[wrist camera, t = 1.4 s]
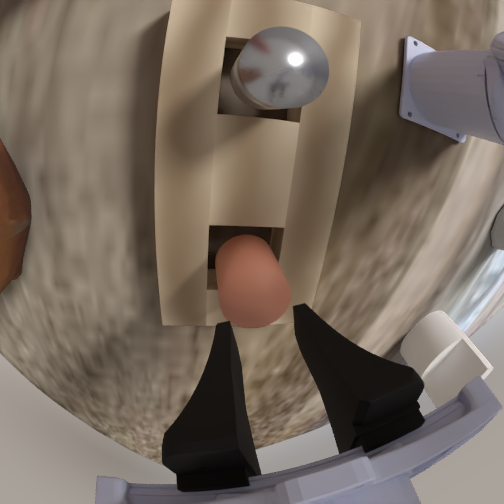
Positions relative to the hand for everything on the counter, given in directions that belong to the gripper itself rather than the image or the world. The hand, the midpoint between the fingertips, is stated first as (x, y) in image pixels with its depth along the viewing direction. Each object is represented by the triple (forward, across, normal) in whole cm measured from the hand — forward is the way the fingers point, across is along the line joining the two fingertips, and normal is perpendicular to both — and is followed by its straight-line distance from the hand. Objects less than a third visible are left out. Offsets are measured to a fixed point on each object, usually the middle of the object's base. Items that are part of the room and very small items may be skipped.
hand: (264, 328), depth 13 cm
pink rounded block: (+7, 0, 0) cm, 7 cm away
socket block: (+10, -2, -6) cm, 12 cm away
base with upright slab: (+10, -23, +21) cm, 33 cm away
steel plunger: (+7, -3, -12) cm, 14 cm away
